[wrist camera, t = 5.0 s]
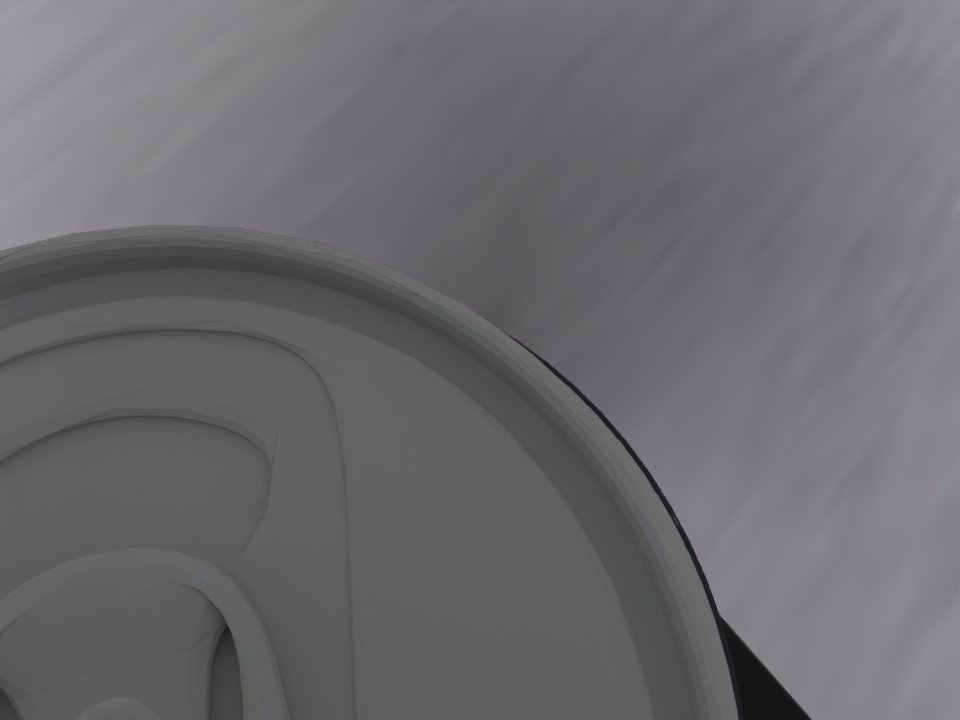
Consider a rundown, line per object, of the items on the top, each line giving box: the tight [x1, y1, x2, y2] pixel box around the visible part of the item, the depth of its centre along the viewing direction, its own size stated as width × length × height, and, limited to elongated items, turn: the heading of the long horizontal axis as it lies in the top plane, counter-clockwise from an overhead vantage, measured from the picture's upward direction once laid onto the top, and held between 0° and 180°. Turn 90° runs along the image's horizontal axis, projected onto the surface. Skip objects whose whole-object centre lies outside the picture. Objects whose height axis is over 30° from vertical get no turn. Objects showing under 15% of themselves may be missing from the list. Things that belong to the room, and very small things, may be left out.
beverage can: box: [0, 225, 744, 720], centre depth 9 cm, size 6×6×12 cm
